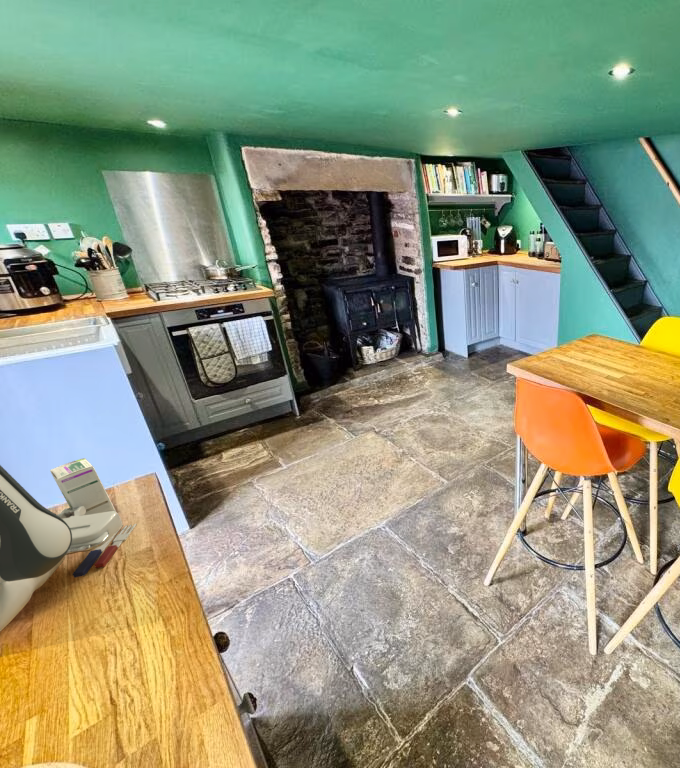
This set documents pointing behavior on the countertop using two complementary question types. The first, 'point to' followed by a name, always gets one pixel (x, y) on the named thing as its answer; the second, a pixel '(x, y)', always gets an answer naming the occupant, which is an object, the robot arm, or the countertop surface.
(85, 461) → the syrup box
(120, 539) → the fork
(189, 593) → the countertop surface
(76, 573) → the knife
